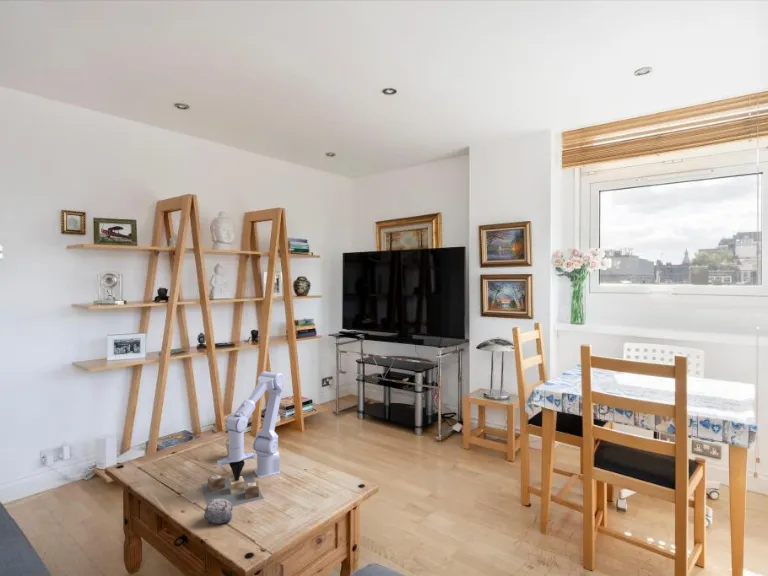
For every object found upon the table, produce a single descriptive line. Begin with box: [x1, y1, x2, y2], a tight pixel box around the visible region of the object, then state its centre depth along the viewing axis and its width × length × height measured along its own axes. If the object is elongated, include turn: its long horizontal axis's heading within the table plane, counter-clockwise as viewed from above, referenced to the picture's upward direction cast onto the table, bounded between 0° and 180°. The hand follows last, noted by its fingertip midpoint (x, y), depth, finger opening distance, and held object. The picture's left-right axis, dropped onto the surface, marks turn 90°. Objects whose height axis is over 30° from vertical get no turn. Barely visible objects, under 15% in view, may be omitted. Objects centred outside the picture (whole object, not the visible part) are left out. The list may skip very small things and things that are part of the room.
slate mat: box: [200, 472, 264, 507], centre depth 169 cm, size 20×24×1 cm
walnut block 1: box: [207, 473, 226, 492], centre depth 172 cm, size 5×5×4 cm
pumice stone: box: [203, 499, 233, 525], centre depth 149 cm, size 10×8×10 cm
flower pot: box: [224, 437, 246, 457], centre depth 201 cm, size 9×9×9 cm
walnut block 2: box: [245, 480, 260, 499], centre depth 166 cm, size 5×5×4 cm
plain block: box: [229, 476, 244, 494], centre depth 170 cm, size 5×5×4 cm
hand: (236, 479), depth 170 cm, fingers closed
